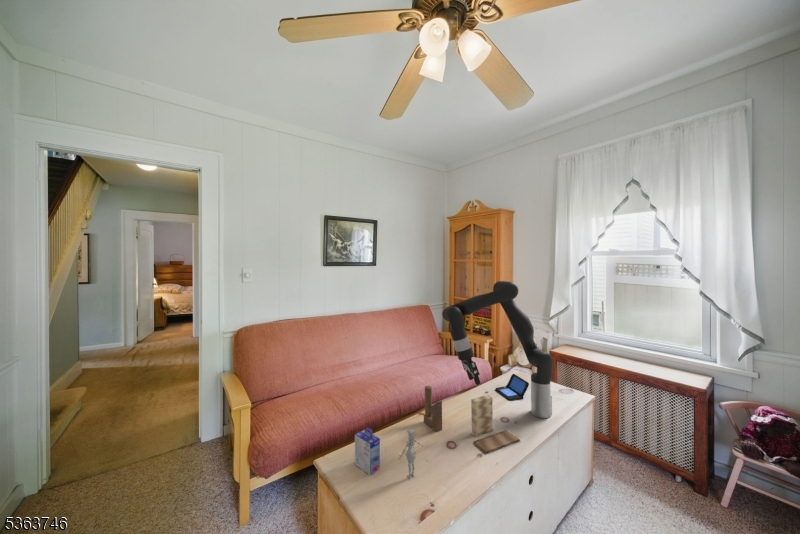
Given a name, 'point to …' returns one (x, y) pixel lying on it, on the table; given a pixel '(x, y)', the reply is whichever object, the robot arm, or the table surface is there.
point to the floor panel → (496, 441)
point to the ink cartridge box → (367, 451)
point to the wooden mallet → (432, 411)
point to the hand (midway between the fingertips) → (474, 381)
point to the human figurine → (410, 451)
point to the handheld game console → (514, 388)
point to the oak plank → (482, 415)
